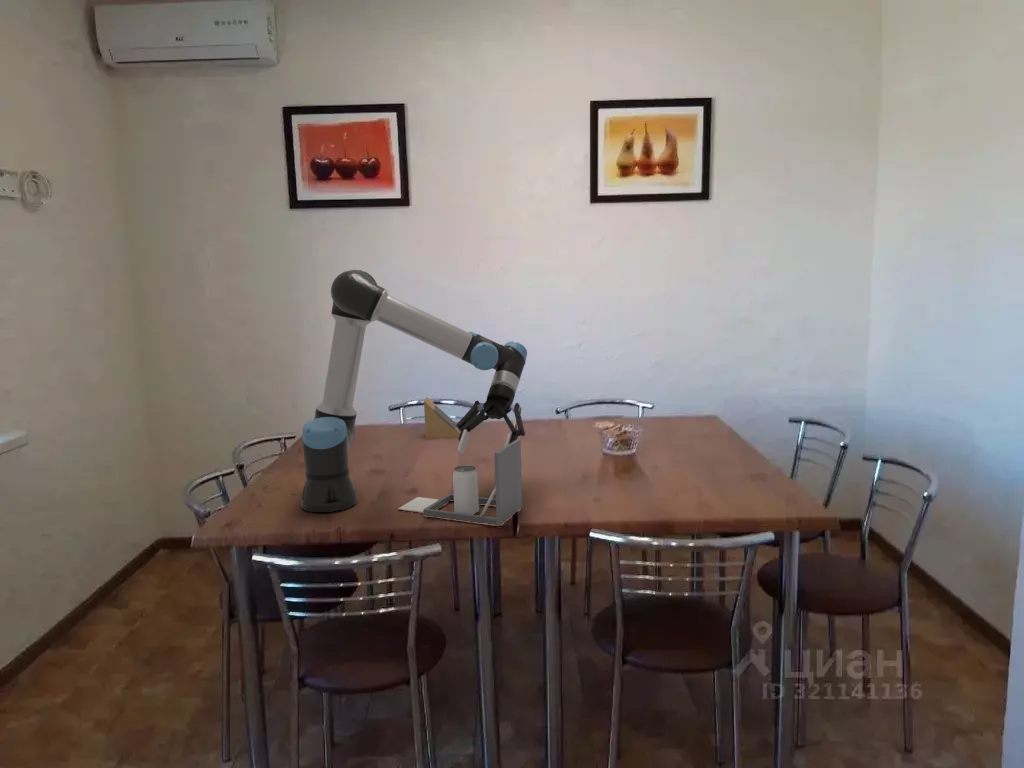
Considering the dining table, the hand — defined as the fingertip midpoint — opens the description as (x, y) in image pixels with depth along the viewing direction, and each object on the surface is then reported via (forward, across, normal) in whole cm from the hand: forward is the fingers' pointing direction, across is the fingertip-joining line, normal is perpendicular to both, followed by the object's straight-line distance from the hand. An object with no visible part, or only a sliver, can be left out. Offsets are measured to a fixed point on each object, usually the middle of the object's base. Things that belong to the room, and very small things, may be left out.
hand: (482, 454), depth 193 cm
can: (+16, +1, -3) cm, 16 cm away
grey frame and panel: (+16, -1, -3) cm, 16 cm away
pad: (+16, +15, -3) cm, 22 cm away
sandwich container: (-36, +46, -55) cm, 81 cm away
